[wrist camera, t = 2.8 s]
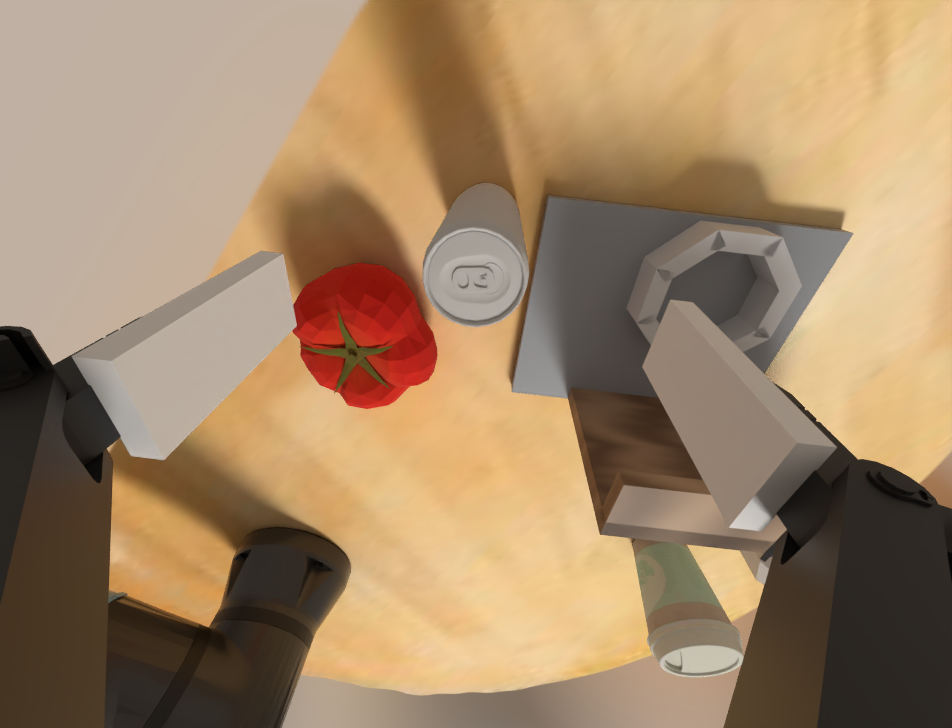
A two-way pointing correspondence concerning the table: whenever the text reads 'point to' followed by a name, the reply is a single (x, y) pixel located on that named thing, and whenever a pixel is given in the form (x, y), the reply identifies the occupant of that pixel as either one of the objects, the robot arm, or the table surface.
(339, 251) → the table surface
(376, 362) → the tomato
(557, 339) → the socket board
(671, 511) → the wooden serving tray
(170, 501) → the table surface
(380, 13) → the table surface
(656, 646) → the coffee cup
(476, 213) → the beverage can
